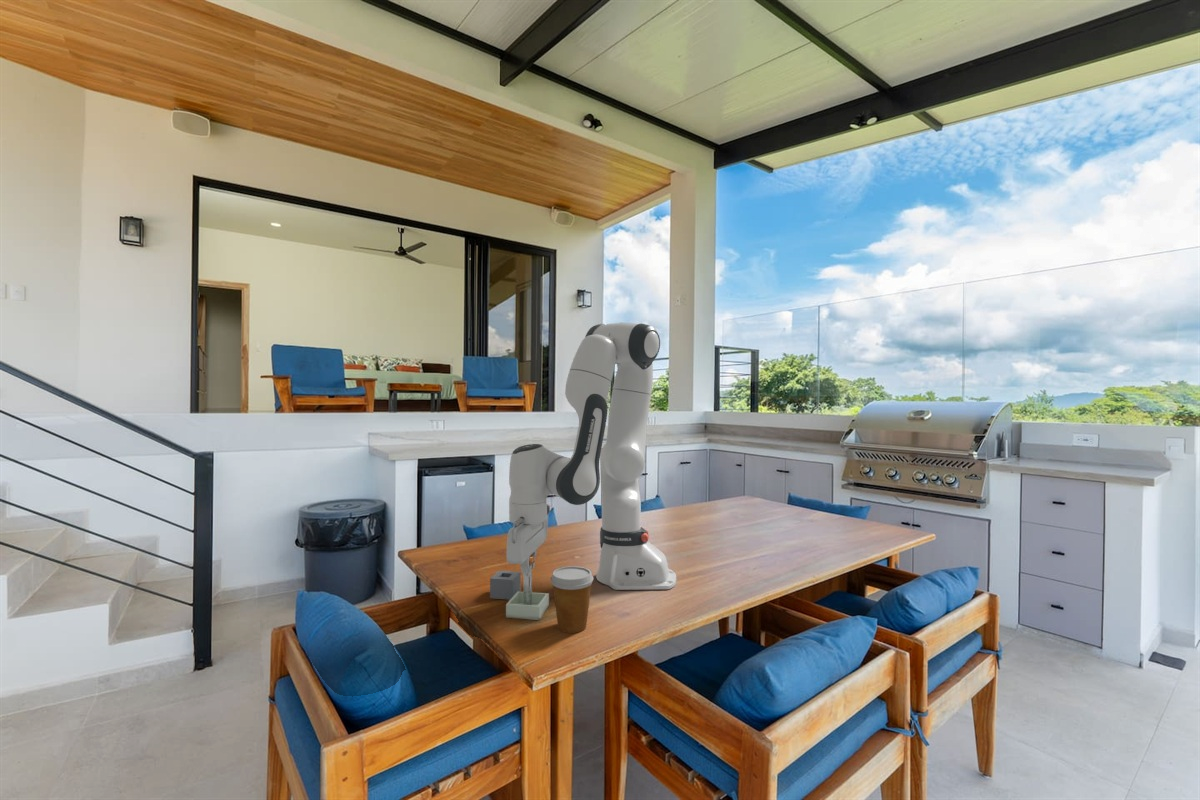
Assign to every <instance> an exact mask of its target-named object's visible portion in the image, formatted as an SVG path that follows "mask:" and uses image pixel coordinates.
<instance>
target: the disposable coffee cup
mask: <svg viewBox="0 0 1200 800" xmlns="http://www.w3.org/2000/svg"><path fill="white" fill-rule="evenodd" d="M594 579H595V578H594V576H593V573H592V570H590V569H589V568H587V567H583V566H576V565H575V566H574V565H571V566H563V567H559V568H556V569H555V570H553V572H552V576H551V577H550V582H551V584H552V587H553V588H552V589H553V594H554V596H553V597H554V605H555V614H556V621H557V628H558V629H559V631H560V632H563V633H566V634H567V633H568V634H571V633H572V634H576V633H580V632H583V631H584V630H585V629H587V623H588V617H589V615H588V614H589V609H590V607H589V605H590V600H591V599H590V597H591V591H592V590H591V589H592V583H593V581H594ZM582 630H583V631H582Z"/></svg>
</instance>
